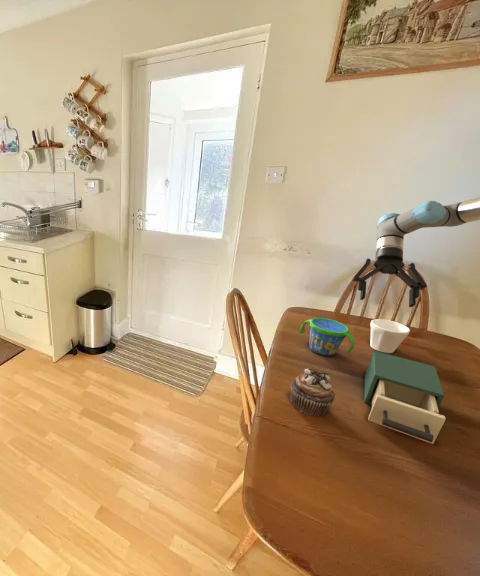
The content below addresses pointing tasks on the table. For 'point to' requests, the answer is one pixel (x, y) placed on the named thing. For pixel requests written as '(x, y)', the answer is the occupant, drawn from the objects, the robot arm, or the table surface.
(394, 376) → the cabinet
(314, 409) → the cupcake
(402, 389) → the drawer
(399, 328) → the cup
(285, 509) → the table surface
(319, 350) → the snack cup
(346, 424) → the table surface
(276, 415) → the table surface
